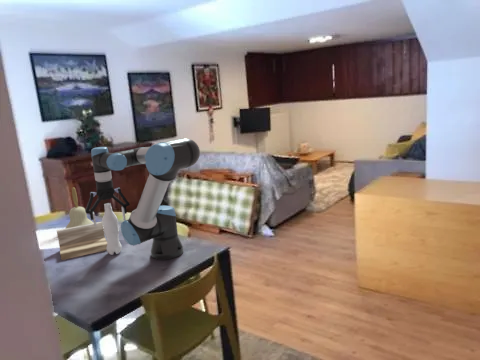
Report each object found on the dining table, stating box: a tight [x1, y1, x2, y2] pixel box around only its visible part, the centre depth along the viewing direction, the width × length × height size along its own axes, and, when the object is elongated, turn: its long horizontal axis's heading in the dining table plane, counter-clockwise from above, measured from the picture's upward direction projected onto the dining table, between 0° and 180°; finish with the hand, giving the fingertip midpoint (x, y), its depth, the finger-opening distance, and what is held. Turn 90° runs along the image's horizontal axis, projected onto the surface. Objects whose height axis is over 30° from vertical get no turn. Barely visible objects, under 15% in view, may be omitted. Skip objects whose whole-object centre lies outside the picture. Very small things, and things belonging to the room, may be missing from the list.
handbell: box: [65, 186, 94, 228], centre depth 238 cm, size 15×15×25 cm
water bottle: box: [101, 202, 123, 256], centre depth 197 cm, size 7×7×25 cm
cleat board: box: [56, 220, 107, 261], centre depth 205 cm, size 14×22×11 cm, turn 115°
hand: (110, 223), depth 197 cm, fingers open, 13 cm apart
